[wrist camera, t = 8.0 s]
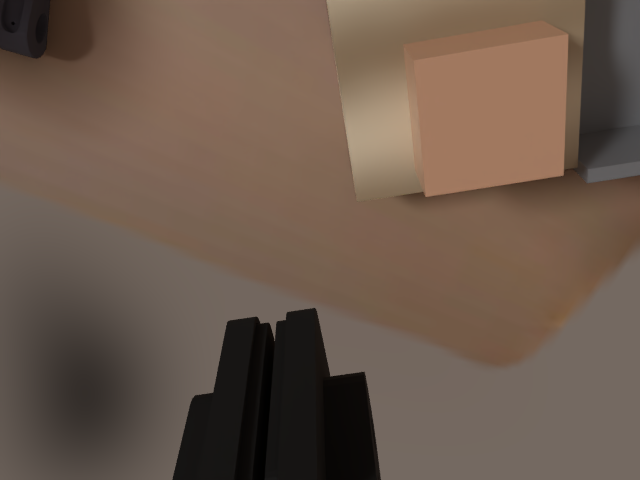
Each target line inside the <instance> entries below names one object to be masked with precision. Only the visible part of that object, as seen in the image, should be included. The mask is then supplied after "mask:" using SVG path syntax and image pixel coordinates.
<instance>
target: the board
mask: <svg viewBox="0 0 640 480" xmlns="http://www.w3.org/2000/svg"><path fill="white" fill-rule="evenodd" d="M326 3H327V10H328V16H329V23H330V30H331V36H332V43H333V50H334V56H335V63H336V69H337V76H338V83H339V89H340V96H341V103H342V109H343V116H344V123H345V129H346V136H347V143H348V149H349V156H350V163H351V169H352V176H353V182H354V188H355V194H356V200H357V202H361V201H368V200H374V199H380V198H387V197H393V196H399V195H406V194H412V193H419V192H423V189H422V187H421V184H420V182H419V179H418V177H417V174H416V171H415V164H414V154H413V143H412V133H411V122H410V112H409V101H408V91H407V80H406V70H405V59H404V49H403V44H408V43H414V42H420V41H426V40H432V39H437V38H443V37H449V36H455V35H460V34H466V33H472V32H478V31H484V30H489V29H495V28H501V27H507V26H513V25H518V24H524V23H530V22H536V21H542V20H543V21H544V22H546V23H548V24H550V25H552V26H554V27H556V28H558V29H560V30H562V31H564V32H566V33H568V34H569V36H568V64H567V93H566V122H565V150H564V170H565V169H572V168H578V149H579V127H580V106H581V85H582V63H583V42H584V21H585V0H326Z"/></svg>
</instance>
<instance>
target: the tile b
mask: <svg viewBox="0 0 640 480" xmlns="http://www.w3.org/2000/svg"><path fill="white" fill-rule="evenodd" d="M568 36H569V34H568V33H566V32H564V31H562V30H560V29H558V28H556V27H554V26H552V25H550V24H548V23H546V22H544V21H543V20H542V21H536V22H530V23H524V24H518V25H513V26H507V27H501V28H495V29H489V30H484V31H478V32H472V33H466V34H460V35H455V36H449V37H443V38H437V39H432V40H426V41H420V42H414V43H408V44H403V49H404V59H405V70H406V80H407V91H408V101H409V112H410V122H411V133H412V143H413V154H414V164H415V171H416V174H417V177H418V179H419V182H420V184H421V187H422V189H423V192H424V194H425V197H429V196H436V195H442V194H448V193H455V192H461V191H468V190H474V189H480V188H487V187H493V186H500V185H506V184H512V183H519V182H525V181H532V180H538V179H544V178H551V177H557V176H564V150H565V122H566V93H567V64H568Z"/></svg>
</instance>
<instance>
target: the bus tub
mask: <svg viewBox="0 0 640 480" xmlns="http://www.w3.org/2000/svg"><path fill="white" fill-rule="evenodd" d="M573 169H574V170H575V171H576V172H577V173H578V174H579V175H580V176H581V177H582V178H583V179H584V180H585V181H586V183H592V182H599V181H605V180H612V179H618V178H625V177H631V176H637V175H640V0H585V21H584V42H583V63H582V85H581V106H580V127H579V149H578V168H573Z"/></svg>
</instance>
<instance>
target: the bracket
mask: <svg viewBox="0 0 640 480" xmlns="http://www.w3.org/2000/svg"><path fill="white" fill-rule="evenodd" d="M49 7H50V0H0V48H1V49H4V50H7V51H11V52H14V53H18V54H21V55H25V56H28V57H32V58H39V57H41V56H42V55H43V53H44V52H45V50H46V44H47V32H48V19H49Z"/></svg>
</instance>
